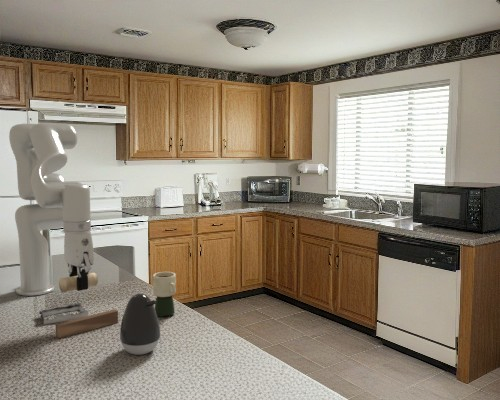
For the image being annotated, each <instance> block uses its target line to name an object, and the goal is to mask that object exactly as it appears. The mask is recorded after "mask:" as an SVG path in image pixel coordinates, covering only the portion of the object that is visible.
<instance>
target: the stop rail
mask: <svg viewBox="0 0 500 400" xmlns="http://www.w3.org/2000/svg"><path fill="white" fill-rule="evenodd" d="M117 323H119V311H118V310H117V309H111V310H107V311H103V312H99V313H95V314H91V315H88V316H86V317H82V318H78V319H74V320H69V321H63V322H58V323H54V324H55V325H54V326H55V337H56V338H58V339H62V338H66V337H70V336H73V335H77V334H81V333H84V332H88V331H92V330H95V329H98V328H103V327H105V326H109V325H113V324H117Z"/></svg>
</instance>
